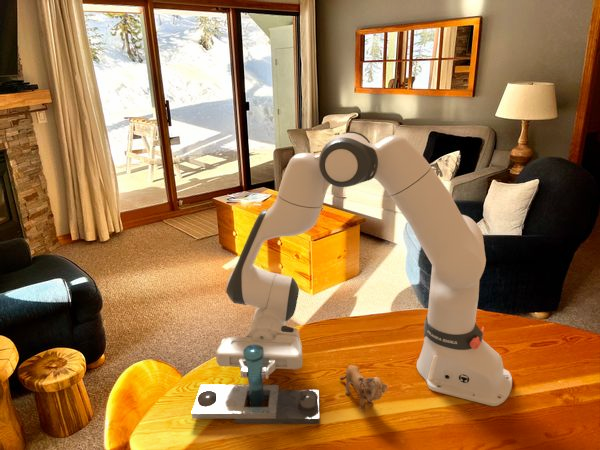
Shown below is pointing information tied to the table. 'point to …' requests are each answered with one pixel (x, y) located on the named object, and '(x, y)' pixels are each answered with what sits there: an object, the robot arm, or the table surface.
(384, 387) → the lion figurine
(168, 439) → the table surface
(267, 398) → the latch plate
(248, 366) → the pin
